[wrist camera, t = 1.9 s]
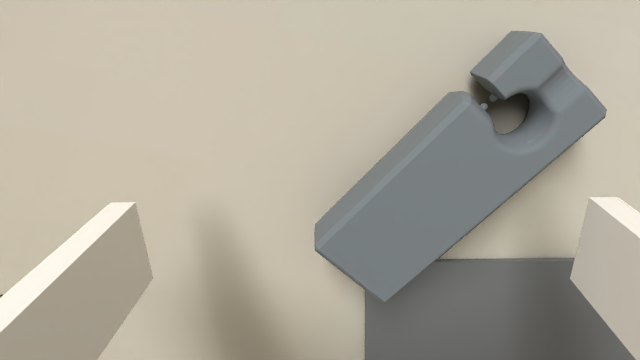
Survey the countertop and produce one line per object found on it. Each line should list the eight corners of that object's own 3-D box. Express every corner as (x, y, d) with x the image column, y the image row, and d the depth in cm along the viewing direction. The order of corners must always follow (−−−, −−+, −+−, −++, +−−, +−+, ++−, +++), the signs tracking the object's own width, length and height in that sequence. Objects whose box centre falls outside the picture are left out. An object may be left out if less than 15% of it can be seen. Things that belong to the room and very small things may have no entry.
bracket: (311, 224, 17) (310, 250, 15) (512, 25, 14) (541, 27, 13) (378, 278, 18) (385, 308, 16) (579, 101, 15) (614, 114, 14)
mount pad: (364, 430, 23) (364, 433, 23) (365, 260, 19) (365, 262, 18) (629, 432, 22) (631, 436, 22) (693, 256, 18) (696, 259, 18)
